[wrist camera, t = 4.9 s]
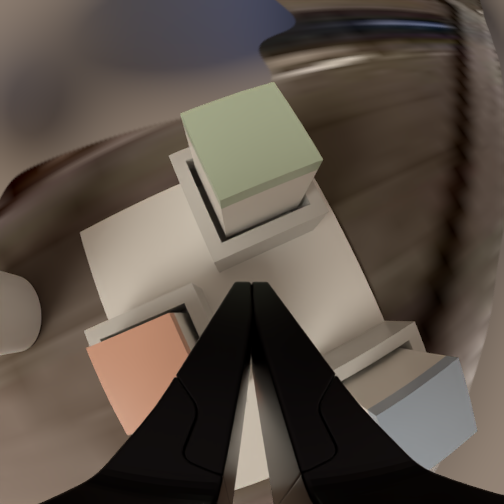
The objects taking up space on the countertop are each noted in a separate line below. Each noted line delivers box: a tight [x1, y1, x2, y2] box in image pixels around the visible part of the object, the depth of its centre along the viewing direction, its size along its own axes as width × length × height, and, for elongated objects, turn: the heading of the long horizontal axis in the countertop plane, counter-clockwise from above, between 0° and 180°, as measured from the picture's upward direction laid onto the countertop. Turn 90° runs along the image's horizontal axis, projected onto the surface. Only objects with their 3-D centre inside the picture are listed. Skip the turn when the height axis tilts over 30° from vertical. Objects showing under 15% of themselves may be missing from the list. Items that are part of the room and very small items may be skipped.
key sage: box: [180, 82, 323, 238], centre depth 16 cm, size 5×5×6 cm
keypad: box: [80, 147, 426, 490], centre depth 18 cm, size 22×18×4 cm
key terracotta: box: [86, 313, 200, 435], centre depth 16 cm, size 5×5×6 cm
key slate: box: [341, 348, 477, 470], centre depth 14 cm, size 5×5×6 cm
